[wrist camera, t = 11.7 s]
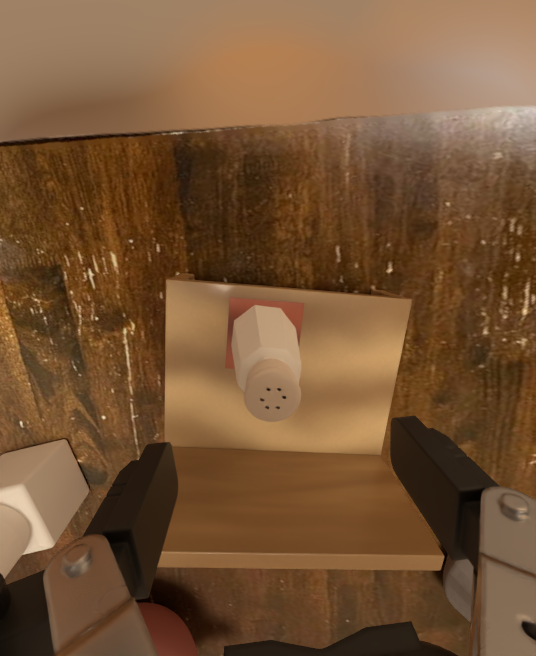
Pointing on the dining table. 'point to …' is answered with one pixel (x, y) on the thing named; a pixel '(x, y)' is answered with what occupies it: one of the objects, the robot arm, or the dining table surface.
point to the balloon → (167, 631)
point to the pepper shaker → (267, 362)
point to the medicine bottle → (37, 499)
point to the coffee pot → (459, 584)
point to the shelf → (287, 437)
